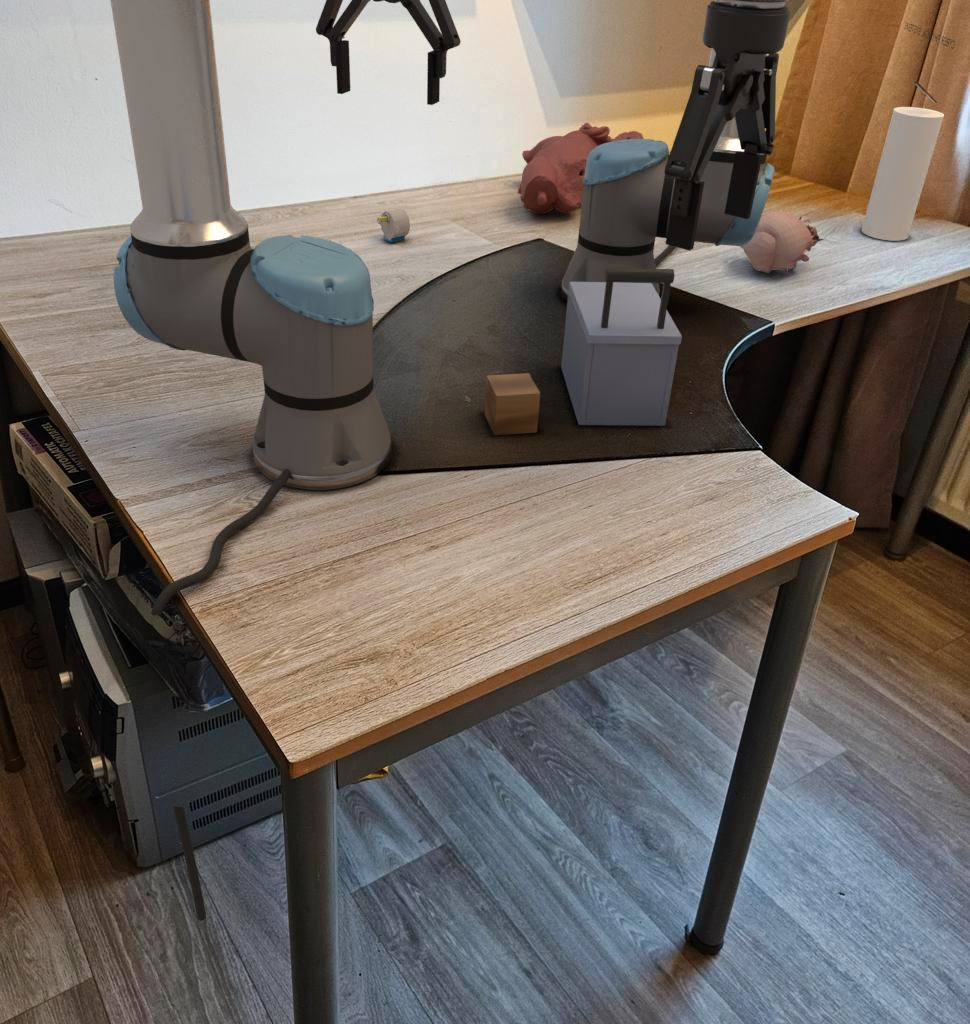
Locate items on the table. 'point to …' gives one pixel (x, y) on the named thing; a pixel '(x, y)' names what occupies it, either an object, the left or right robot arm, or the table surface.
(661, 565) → the table surface
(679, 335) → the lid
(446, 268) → the table surface
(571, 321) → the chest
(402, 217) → the electric motor
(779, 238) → the toy
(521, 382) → the block
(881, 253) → the table surface
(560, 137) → the fabric sculpture
